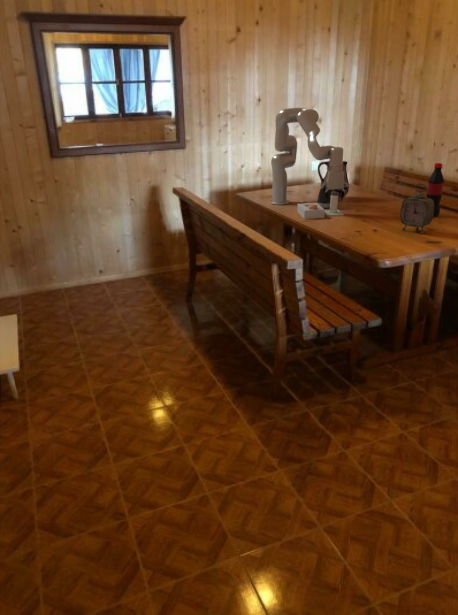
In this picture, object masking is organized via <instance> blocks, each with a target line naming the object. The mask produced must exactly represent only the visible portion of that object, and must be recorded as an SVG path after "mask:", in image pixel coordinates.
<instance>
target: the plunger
mask: <svg viewBox="0 0 458 615" xmlns="http://www.w3.org/2000/svg"><path fill="white" fill-rule="evenodd" d="M309 209H317V205H309Z"/></svg>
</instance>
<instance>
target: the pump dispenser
mask: <svg viewBox="0 0 458 615" xmlns="http://www.w3.org/2000/svg"><path fill="white" fill-rule="evenodd" d="M323 187H324V189H325V188H326V185H324V186H323ZM331 192H333V191H332V189H329V190H328V191H327V193H328V198H327V199H325V197H324V191H323V190H322V188H321V187H320V189H319V191H318V196H317V202H316V203H317V204H319V205H320V206H321V207H322V208H323V209H330V200H331Z"/></svg>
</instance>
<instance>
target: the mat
mask: <svg viewBox="0 0 458 615" xmlns="http://www.w3.org/2000/svg"><path fill="white" fill-rule="evenodd" d="M329 211H330V209H328V210H327V209H325V214H324V215H325V216H327V217H339V216H340V217H341V216H343V217H345V214H344V212H342V211H341V210H339V209H337V213H330V212H329Z"/></svg>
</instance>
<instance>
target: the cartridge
mask: <svg viewBox="0 0 458 615" xmlns="http://www.w3.org/2000/svg"><path fill="white" fill-rule="evenodd" d="M338 194H339V192H331V200H330V207H329V210H330V211H329V212H330V213H337V210H338V203H339V200H338Z"/></svg>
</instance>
